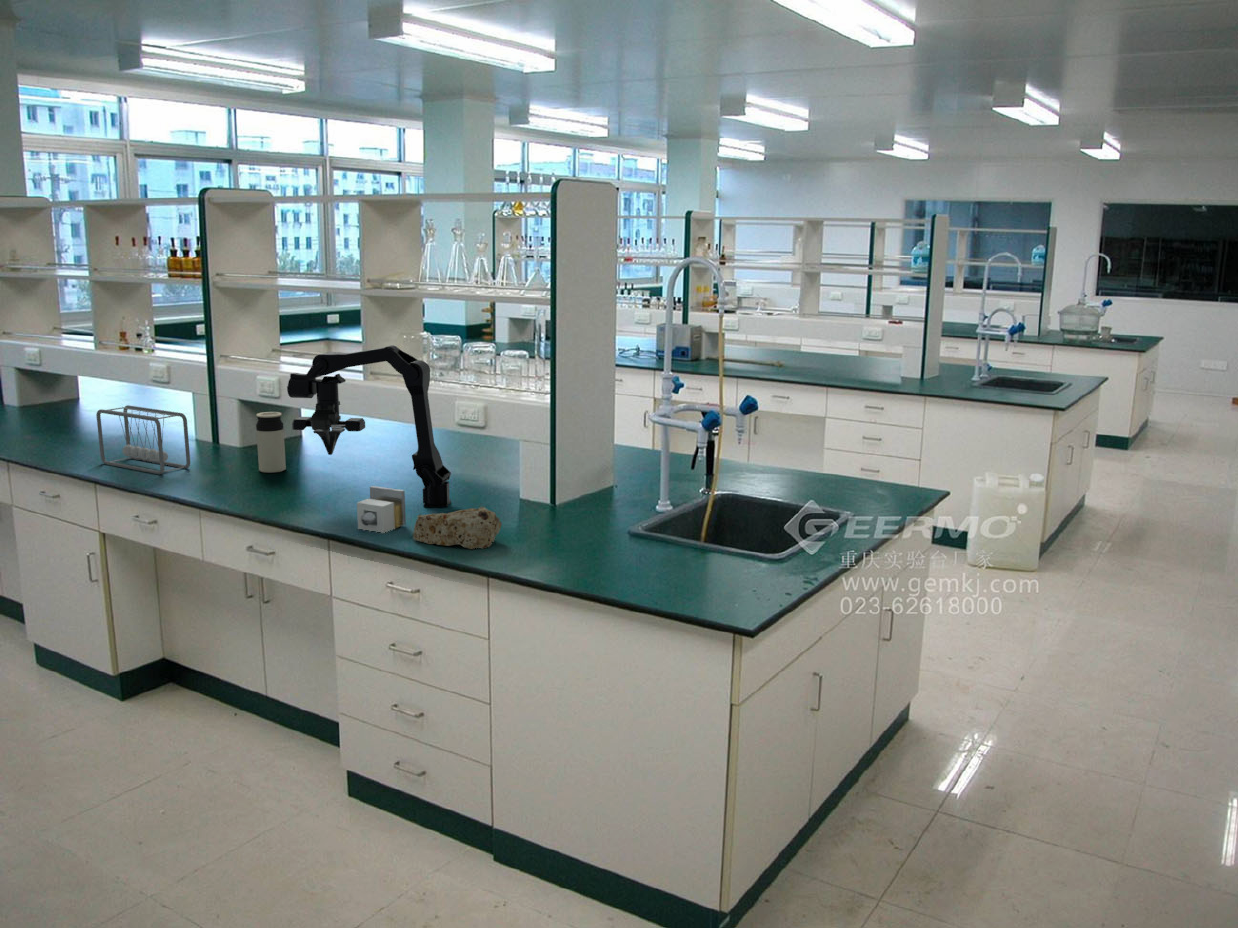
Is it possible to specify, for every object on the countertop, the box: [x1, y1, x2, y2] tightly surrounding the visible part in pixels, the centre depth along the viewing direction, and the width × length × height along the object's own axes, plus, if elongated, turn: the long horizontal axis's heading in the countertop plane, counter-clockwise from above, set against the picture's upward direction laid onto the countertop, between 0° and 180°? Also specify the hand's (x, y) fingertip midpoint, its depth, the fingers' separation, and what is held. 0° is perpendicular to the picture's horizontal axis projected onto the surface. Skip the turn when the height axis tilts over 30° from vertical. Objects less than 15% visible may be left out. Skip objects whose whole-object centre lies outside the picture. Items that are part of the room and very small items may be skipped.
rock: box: [412, 506, 502, 550], centre depth 244 cm, size 21×14×10 cm
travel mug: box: [255, 411, 287, 474], centre depth 311 cm, size 8×8×18 cm
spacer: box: [394, 504, 402, 529], centre depth 255 cm, size 2×9×6 cm, turn 66°
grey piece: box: [361, 485, 407, 527], centre depth 252 cm, size 9×10×9 cm
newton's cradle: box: [95, 404, 191, 475], centre depth 314 cm, size 30×10×18 cm, turn 61°
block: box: [356, 498, 396, 534], centre depth 252 cm, size 4×8×7 cm, turn 65°
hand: (330, 454), depth 276 cm, fingers closed
